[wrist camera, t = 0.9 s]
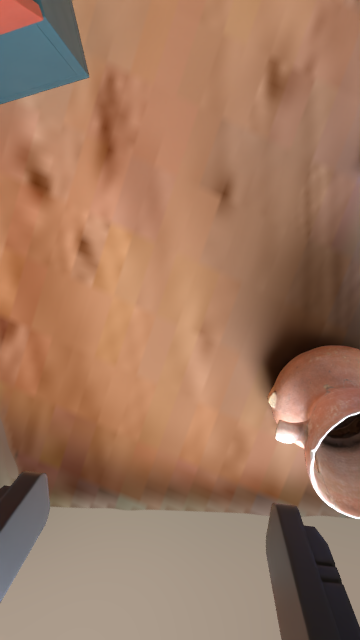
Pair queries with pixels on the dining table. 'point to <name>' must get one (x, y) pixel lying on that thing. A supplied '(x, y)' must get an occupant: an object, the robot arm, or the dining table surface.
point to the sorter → (42, 53)
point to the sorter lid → (18, 14)
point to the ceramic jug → (324, 420)
